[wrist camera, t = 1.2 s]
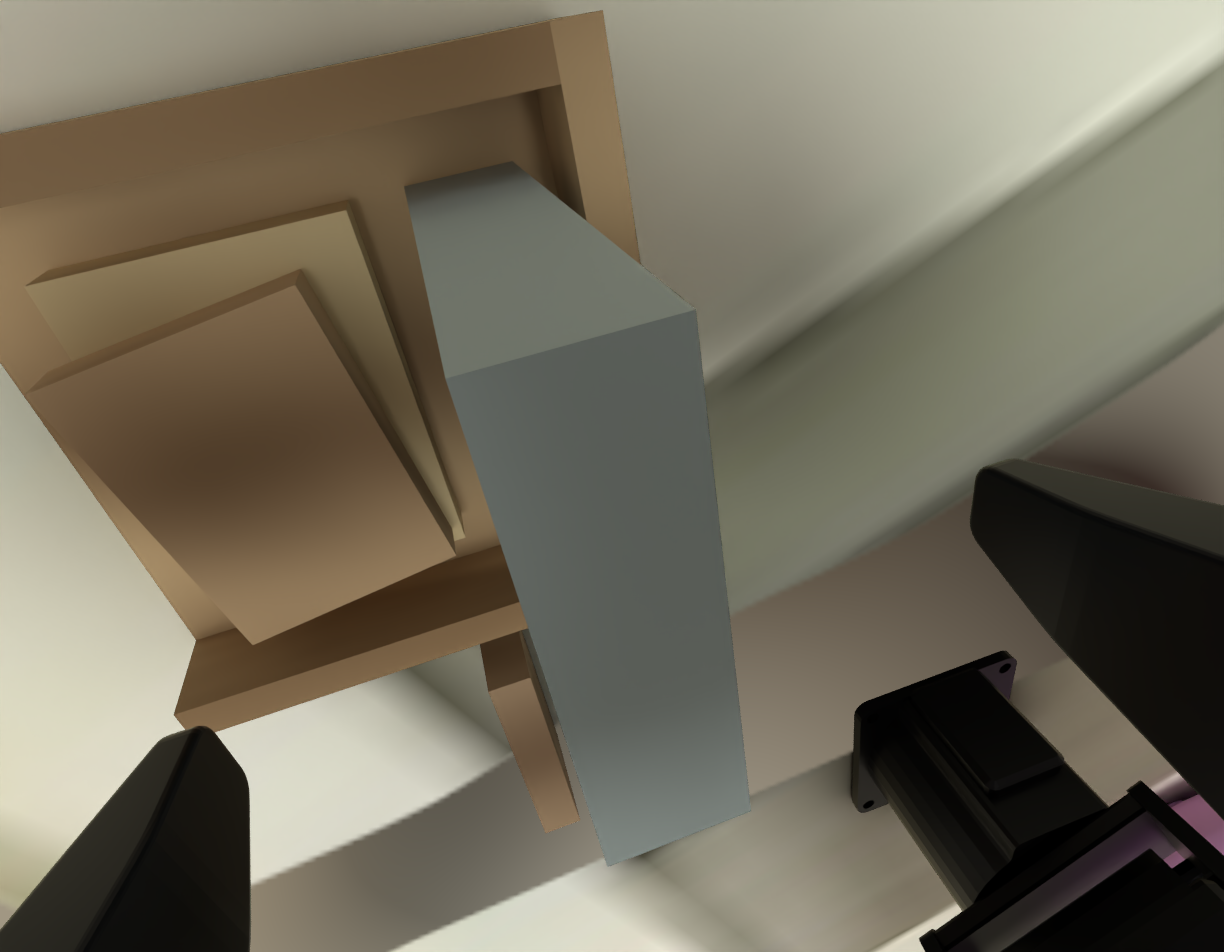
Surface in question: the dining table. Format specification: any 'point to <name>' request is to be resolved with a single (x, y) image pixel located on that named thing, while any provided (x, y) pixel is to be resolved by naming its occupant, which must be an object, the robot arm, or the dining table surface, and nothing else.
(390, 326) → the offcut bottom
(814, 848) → the dining table surface
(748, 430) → the dining table surface
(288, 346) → the offcut top
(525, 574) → the grey rectangular slab
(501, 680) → the holder
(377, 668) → the tray
